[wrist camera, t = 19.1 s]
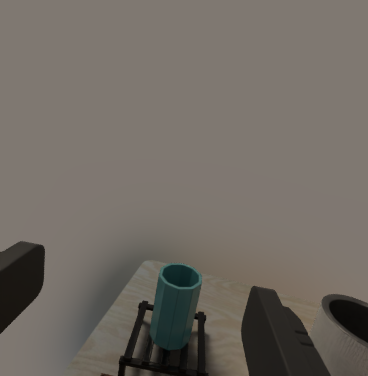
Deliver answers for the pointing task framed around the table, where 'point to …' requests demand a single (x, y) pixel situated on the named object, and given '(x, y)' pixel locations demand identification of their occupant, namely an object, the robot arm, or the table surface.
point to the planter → (342, 335)
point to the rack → (180, 372)
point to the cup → (175, 305)
